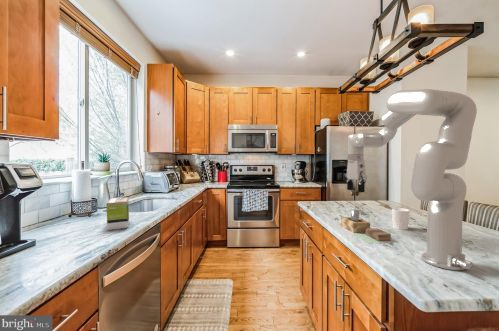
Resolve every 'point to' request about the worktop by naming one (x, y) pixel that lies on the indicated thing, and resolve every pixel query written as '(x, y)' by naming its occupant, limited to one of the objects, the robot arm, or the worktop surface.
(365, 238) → the mat
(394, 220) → the white cup
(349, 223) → the slot block
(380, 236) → the walnut bar
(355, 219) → the silver cylinder
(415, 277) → the worktop surface
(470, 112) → the robot arm
